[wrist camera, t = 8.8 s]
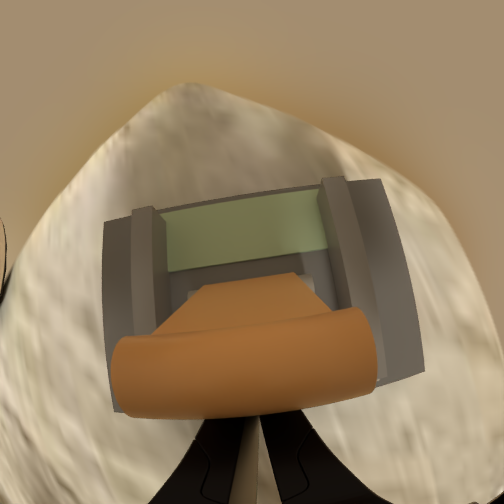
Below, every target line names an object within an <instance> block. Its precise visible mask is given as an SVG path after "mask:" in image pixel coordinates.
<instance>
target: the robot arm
mask: <svg viewBox="0 0 504 504" xmlns="http://www.w3.org/2000/svg"><path fill="white" fill-rule="evenodd" d="M259 418H260V422H261V426H262V430H263V434H264V438H265V442H266V446H267V450H268V454H269V458H270V461H271V465H272V469H273V473H274V477H275V480H276V484H277V488H278V491H279V495H280V499H281V502H282V504H393V503H391V502H389V501H387V500H385V499H383V498H381V497H380V496H378V495H377V494H375V493H374V492H373V491H371V490H370V489H369V488H368V487H367V486H365V485H364V484H363V483H362V482H361V481H360V480H359V479H358V478H357V477H356V476H355V475H354V474H353V473H352V472H351V471H350V470H349V469H348V468H347V467H346V466H345V465H344V464H343V463H342V462H341V461H340V460H339V459H338V458H337V457H336V456H335V455H334V454H333V453H332V452H331V450H330V449H329V448H328V447H327V446H326V444H325V443H324V442H323V440H322V439H321V438H320V436H319V435H318V433H317V432H316V431H315V429H314V428H313V426H312V425H311V423H310V422H309V421H308V419H307V418H306V416H305V415H304V413H303V412H302V410H301V409H300V410H294V411H287V412H281V413H273V414H266V415H257V416H247V417H235V418H220V419H205V420H204V422H203V424H202V425H201V427H200V429H199V431H198V433H197V435H196V436H195V439H196V440H193V442H192V444H191V445H190V447H189V449H188V451H187V452H186V454H185V456H184V457H183V459H182V461H181V462H180V463H179V465H178V466H177V468H176V469H175V470H174V472H173V473H172V475H171V476H170V477H169V478H168V480H167V481H166V482H165V483H164V485H163V486H162V487H161V488H160V490H159V491H158V492H157V493H156V495H155V496H154V497H153V498H152V500H151V501H150V502H149V503H148V504H256V499H257V475H258V449H259ZM469 504H478V503H477V502H472V503H469ZM487 504H504V491H503V492H502V493H501V494H499V495H498V496H497V497H495V498H494V499H493V500H491V501H490V502H489V503H487Z"/></svg>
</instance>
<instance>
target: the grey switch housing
mask: <svg viewBox="0 0 504 504" xmlns="http://www.w3.org/2000/svg"><path fill="white" fill-rule="evenodd" d="M291 272H294V273H295V274H296V275H304V274H311V275H312V278H313V282H314V289H315V294H316V295H317V296H318V297H319V298H320V299H321V300H322V301H323V302H324V303H325V304H326V305H327V306H328V307H329V308H330V309H331V310H332V311H336V310H341V309H346V308H351V307H358V308H359V309H360V310H361V311H362V312H363V313H364V315H365V317H366V319H367V320H368V323H369V325H370V328H371V331H372V334H373V337H374V342H375V346H376V352H377V363H378V373H377V382H376V386H375V388H376V387H379V386H383V385H386V384H389V383H392V382H396V381H399V380H402V379H405V378H408V377H410V376H413V375H416V374H419V373H422V372H424V371H425V366H424V357H423V348H422V341H421V334H420V327H419V321H418V315H417V309H416V304H415V299H414V294H413V289H412V284H411V280H410V275H409V271H408V267H407V263H406V259H405V255H404V251H403V247H402V244H401V240H400V236H399V233H398V230H397V226H396V223H395V220H394V217H393V213H392V210H391V207H390V204H389V201H388V198H387V195H386V193H385V190H384V187H383V184H382V181H381V179H368V180H357V181H347V182H346V181H345V178H344V176H340V177H330V178H322V180H321V184H318V185H310V186H302V187H294V188H286V189H279V190H271V191H264V192H258V193H251V194H244V195H238V196H232V197H226V198H220V199H214V200H208V201H203V202H197V203H192V204H186V205H181V206H176V207H171V208H166V209H161V210H155V208H154V207H153V206H148V207H143V208H139V209H134V210H132V216H128V217H124V218H119V219H115V220H111V221H106V222H104V230H103V249H102V308H103V327H104V340H105V351H106V361H107V369H108V377H109V384H110V390H111V397H112V402H113V408H114V412H119V413H125V412H124V411H123V410H122V409H121V408H120V406H119V404H118V402H117V400H116V398H115V395H114V392H113V388H112V383H111V360H112V355H113V351H114V349H115V346H116V344H117V343H118V341H119V340H120V339H121V338H123V337H125V336H139V335H151V334H152V333H153V332H154V331H155V330H156V329H157V328H158V327H159V326H161V325H162V324H163V323H164V322H165V321H166V320H167V319H168V318H169V317H170V316H171V315H172V314H173V313H174V312H176V311H177V310H178V309H179V308H180V307H181V306H182V305H183V304H184V303H185V302H186V301H187V300H188V299H187V296H188V292H189V291H194V290H199V289H200V288H201V287H202V286H203V285H209V284H216V283H224V282H231V281H238V280H245V279H252V278H258V277H265V276H272V275H278V274H285V273H291Z"/></svg>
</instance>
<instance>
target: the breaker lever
mask: <svg viewBox="0 0 504 504" xmlns="http://www.w3.org/2000/svg"><path fill="white" fill-rule="evenodd" d="M187 299H188V300H187V301H186V302H185V303H184V304H183V305H182V306H181V307H180V308H179V309H178V310H177V311H176V312H174V313H173V314H172V315H171V316H170V317H169V318H168V319H167V320H166V321H165V322H164V323H163V324H162V325H161V326H159V327H158V328H157V329H156V330H155V331H154V332H153V333H152V334H151V335H139V336H125V337H123V338H121V339H120V340H119V341H118V343H117V344H116V346H115V349H114V351H113V355H112V360H111V383H112V388H113V392H114V395H115V398H116V400H117V402H118V404H119V406H120V408H121V409H122V410H123V411H124V412H125V414H127V415H128V416H130V417H133V418H146V419H178V420H187V419H220V418H235V417H247V416H257V415H266V414H273V413H281V412H287V411H294V410H300V409H306V408H311V407H316V406H321V405H326V404H331V403H335V402H340V401H344V400H348V399H352V398H356V397H360V396H363V395H367V394H370V393H372V392H373V390H374V388H375V386H376V382H377V373H378V363H377V352H376V346H375V342H374V337H373V334H372V331H371V328H370V325H369V323H368V320H367V319H366V317H365V315H364V313H363V312H362V311H361V310H360V309H359V308H358V307H351V308H346V309H341V310H336V311H332V310H331V309H330V308H329V307H328V306H327V305H326V304H325V303H324V302H323V301H322V300H321V299H320V298H319V297H318V296H317V295H316V294H315V289H314V282H313V278H312V275H311V274H304V275H296V274H295V273H294V272H291V273H285V274H278V275H272V276H265V277H258V278H252V279H245V280H238V281H231V282H224V283H216V284H209V285H203V286H202V287H201V288H200V289H199V290H194V291H189V292H188V296H187Z"/></svg>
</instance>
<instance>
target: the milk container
mask: <svg viewBox="0 0 504 504" xmlns="http://www.w3.org/2000/svg"><path fill="white" fill-rule="evenodd" d="M6 251H7V244H6V235H5V229H4V225H3V223H2V220H1V219H0V299H1V296H2V293H3V285H4V278H5V272H6Z"/></svg>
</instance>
